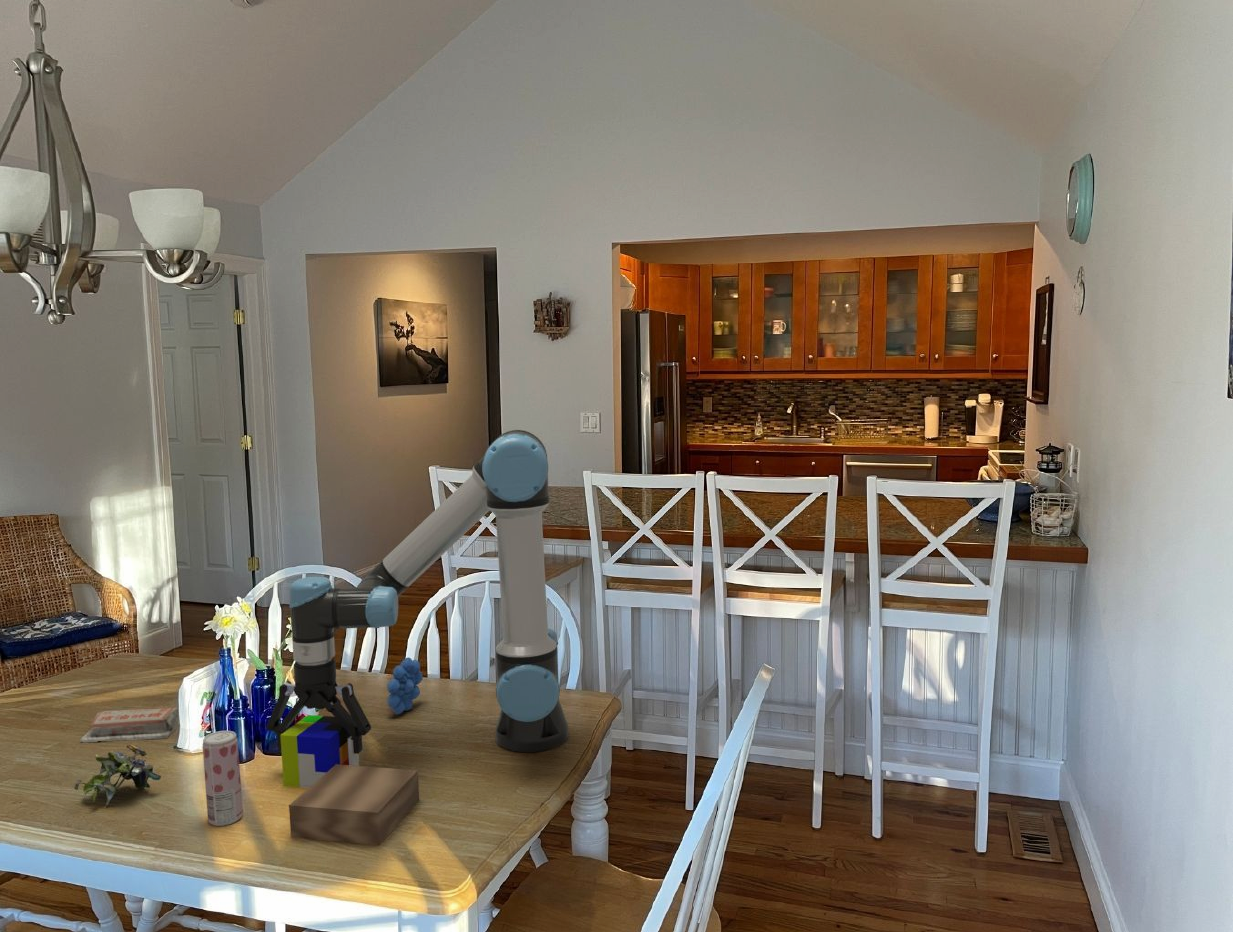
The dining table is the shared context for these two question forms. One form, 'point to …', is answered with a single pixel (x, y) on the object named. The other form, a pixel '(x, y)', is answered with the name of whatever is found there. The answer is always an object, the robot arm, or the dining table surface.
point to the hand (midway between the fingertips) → (321, 767)
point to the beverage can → (222, 778)
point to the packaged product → (132, 725)
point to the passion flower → (120, 765)
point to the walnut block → (354, 804)
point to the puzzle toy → (312, 749)
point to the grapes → (404, 685)
